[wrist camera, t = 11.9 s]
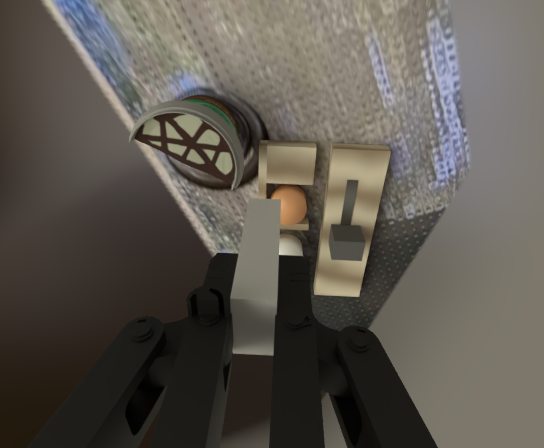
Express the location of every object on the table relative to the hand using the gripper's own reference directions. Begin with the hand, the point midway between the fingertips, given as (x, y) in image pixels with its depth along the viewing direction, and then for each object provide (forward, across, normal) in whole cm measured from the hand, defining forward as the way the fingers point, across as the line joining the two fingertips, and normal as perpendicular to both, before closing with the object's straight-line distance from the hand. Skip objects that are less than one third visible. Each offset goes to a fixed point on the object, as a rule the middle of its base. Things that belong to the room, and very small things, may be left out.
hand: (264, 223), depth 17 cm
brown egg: (+28, +2, -14) cm, 31 cm away
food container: (+29, -8, -3) cm, 30 cm away
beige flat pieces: (+29, +6, -18) cm, 34 cm away
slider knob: (+26, +10, -18) cm, 34 cm away
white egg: (+26, +2, -21) cm, 34 cm away
